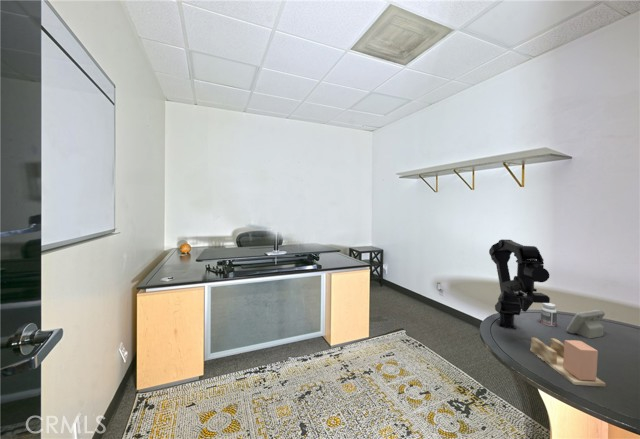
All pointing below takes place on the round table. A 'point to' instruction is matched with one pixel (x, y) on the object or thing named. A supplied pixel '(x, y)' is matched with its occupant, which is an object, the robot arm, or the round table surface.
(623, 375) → the round table surface
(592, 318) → the digital clock
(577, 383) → the chute
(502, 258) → the robot arm
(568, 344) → the block
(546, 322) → the pill bottle
